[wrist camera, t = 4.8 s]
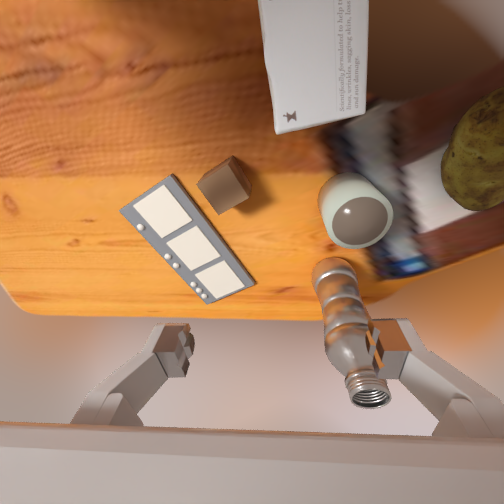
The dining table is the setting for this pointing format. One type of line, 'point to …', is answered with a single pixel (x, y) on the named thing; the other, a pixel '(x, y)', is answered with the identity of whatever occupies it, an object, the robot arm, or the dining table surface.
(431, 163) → the dining table surface
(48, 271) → the dining table surface
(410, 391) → the robot arm
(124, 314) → the dining table surface
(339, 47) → the skincare box
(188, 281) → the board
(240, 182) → the marker cube
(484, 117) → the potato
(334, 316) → the plastic bottle
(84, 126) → the dining table surface
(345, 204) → the sage mug
